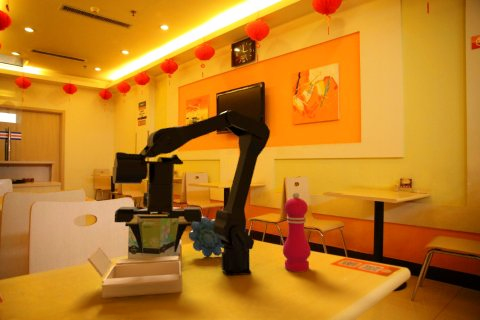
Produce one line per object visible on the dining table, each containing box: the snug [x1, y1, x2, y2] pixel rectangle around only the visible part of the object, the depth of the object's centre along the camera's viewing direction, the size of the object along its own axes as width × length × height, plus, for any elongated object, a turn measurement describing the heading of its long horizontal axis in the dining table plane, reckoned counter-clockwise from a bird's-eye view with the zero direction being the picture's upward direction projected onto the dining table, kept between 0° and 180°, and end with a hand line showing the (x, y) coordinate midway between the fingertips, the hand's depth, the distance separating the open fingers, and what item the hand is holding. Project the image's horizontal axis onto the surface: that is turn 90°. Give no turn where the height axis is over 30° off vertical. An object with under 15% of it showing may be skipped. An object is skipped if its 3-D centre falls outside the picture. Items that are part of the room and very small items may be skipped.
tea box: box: [127, 206, 182, 264], centre depth 94 cm, size 15×10×15 cm, turn 168°
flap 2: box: [179, 238, 184, 272], centre depth 74 cm, size 5×10×1 cm
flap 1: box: [87, 246, 113, 278], centre depth 71 cm, size 5×10×1 cm
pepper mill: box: [282, 191, 312, 273], centre depth 85 cm, size 7×7×20 cm
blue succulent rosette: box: [188, 216, 225, 258], centre depth 95 cm, size 12×7×12 cm, turn 94°
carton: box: [101, 255, 183, 299], centre depth 72 cm, size 16×18×4 cm
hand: (158, 252), depth 73 cm, fingers open, 7 cm apart
